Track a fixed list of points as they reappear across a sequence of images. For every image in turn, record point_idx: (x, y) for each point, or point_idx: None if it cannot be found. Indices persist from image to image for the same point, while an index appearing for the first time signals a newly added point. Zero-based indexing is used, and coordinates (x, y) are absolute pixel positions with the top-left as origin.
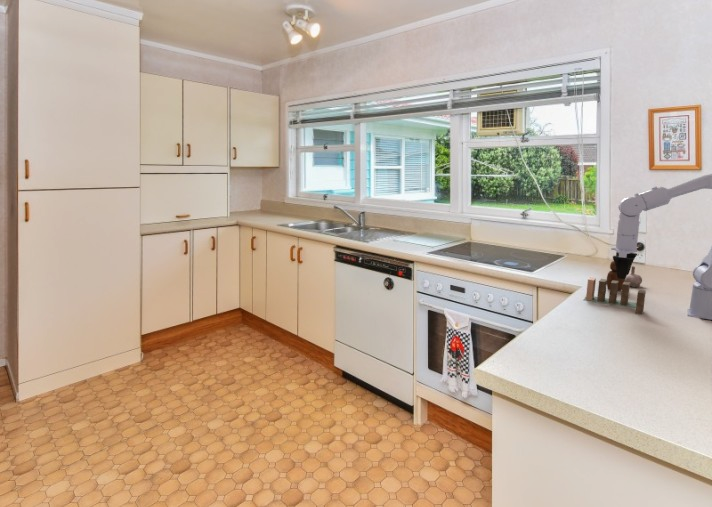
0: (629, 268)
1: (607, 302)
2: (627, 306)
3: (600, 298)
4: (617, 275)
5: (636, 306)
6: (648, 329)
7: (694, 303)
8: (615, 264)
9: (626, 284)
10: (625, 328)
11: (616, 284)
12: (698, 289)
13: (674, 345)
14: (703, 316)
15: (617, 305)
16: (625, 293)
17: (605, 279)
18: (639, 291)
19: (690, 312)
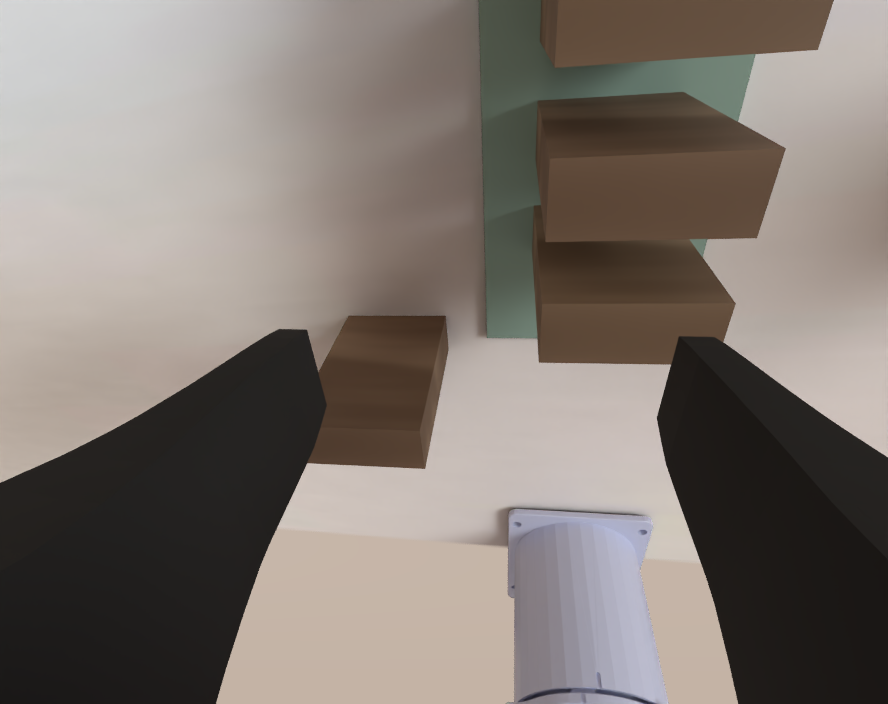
0: (690, 519)
1: (546, 89)
2: (508, 261)
3: (543, 7)
4: (247, 351)
5: (330, 351)
6: (114, 383)
7: (538, 587)
8: (21, 475)
9: (552, 340)
10: (7, 300)
11: (546, 231)
12: (531, 688)
13: (17, 452)
14: (514, 554)
15: (486, 191)
16: (535, 286)
17: (811, 18)
18: (344, 435)
19: (552, 527)
